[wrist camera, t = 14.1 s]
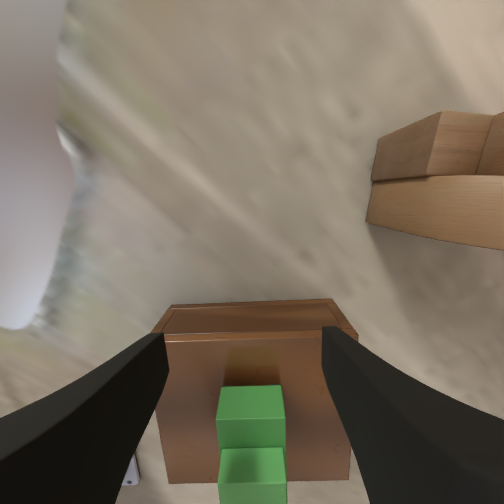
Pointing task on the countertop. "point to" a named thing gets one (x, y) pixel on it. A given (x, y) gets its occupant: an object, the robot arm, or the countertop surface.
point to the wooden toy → (442, 179)
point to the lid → (249, 374)
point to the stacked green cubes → (252, 445)
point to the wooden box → (251, 317)
